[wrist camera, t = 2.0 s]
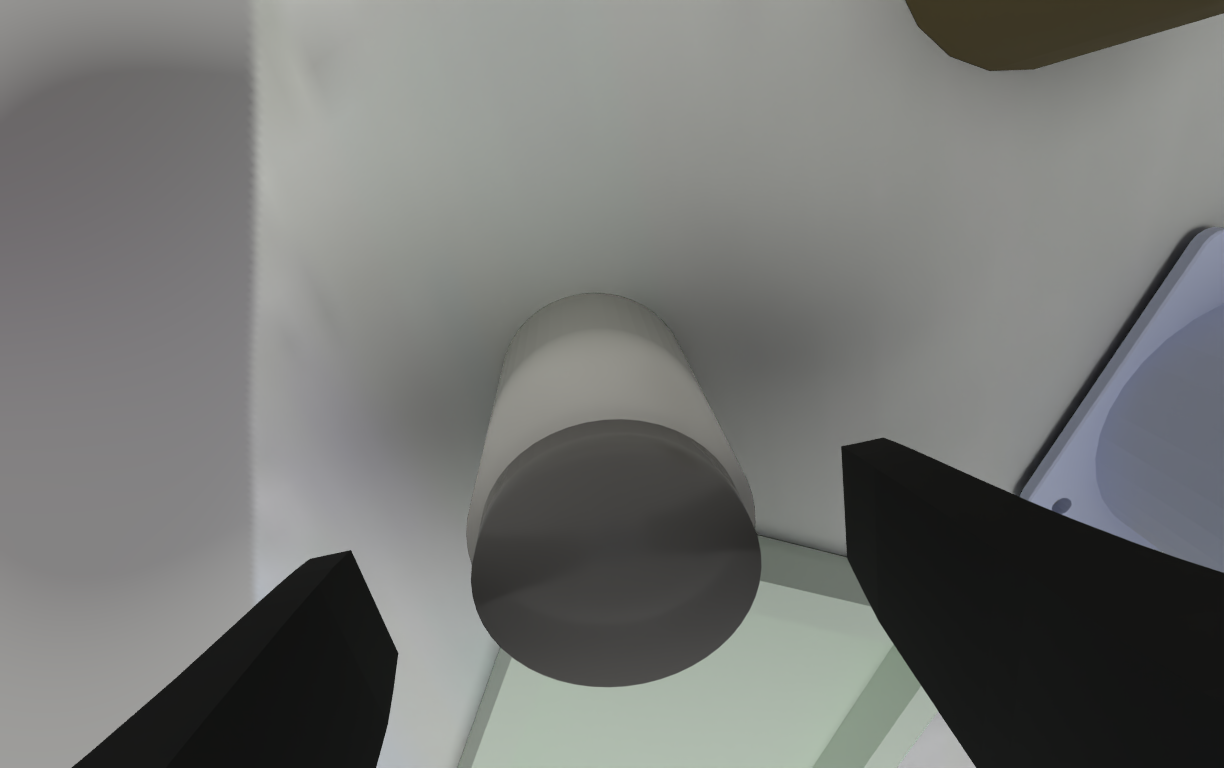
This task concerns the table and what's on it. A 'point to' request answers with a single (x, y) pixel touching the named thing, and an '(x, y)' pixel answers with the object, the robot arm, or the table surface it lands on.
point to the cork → (1047, 27)
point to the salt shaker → (608, 503)
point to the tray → (729, 692)
